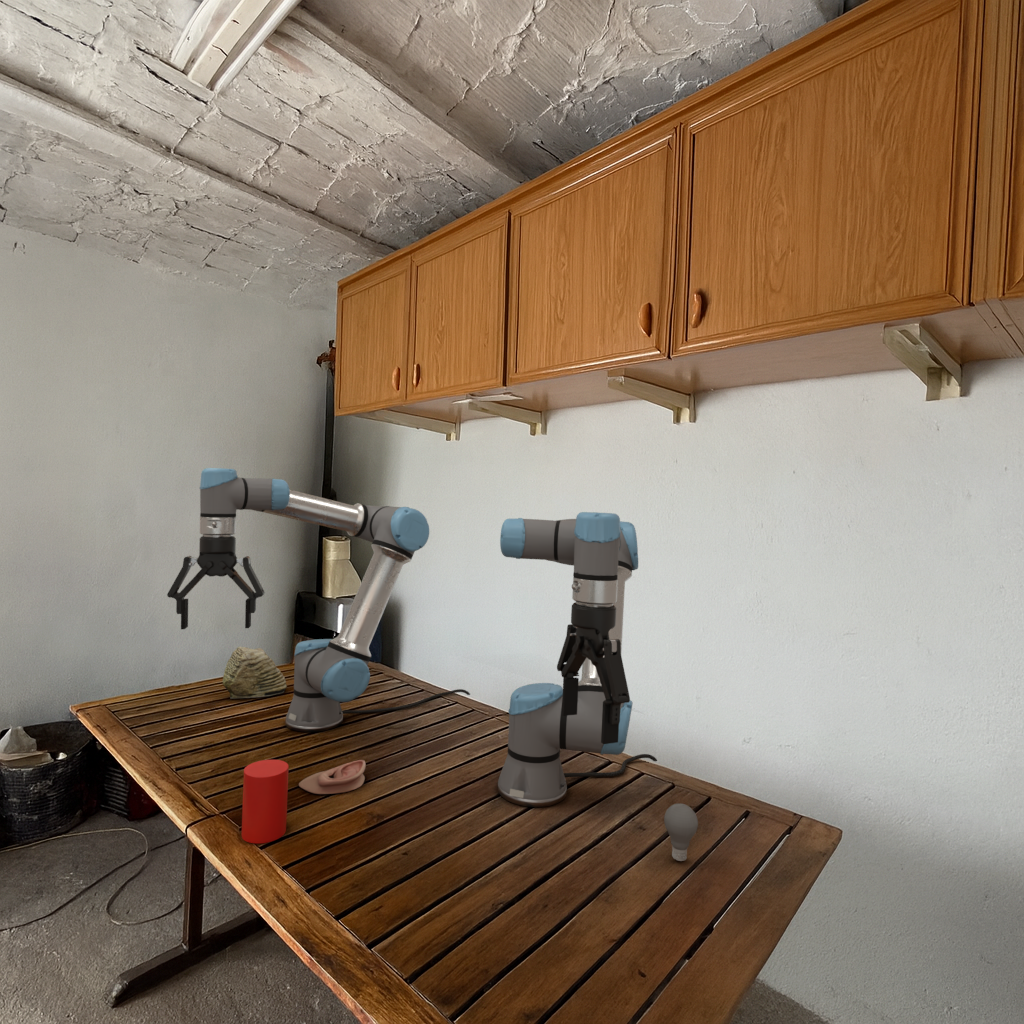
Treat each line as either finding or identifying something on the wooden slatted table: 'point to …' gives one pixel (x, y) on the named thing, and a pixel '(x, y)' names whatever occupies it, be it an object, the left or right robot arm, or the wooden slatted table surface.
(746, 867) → the wooden slatted table surface
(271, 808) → the tin
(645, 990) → the wooden slatted table surface
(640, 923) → the wooden slatted table surface
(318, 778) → the anatomical model
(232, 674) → the fossil
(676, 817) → the light bulb
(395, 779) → the wooden slatted table surface
